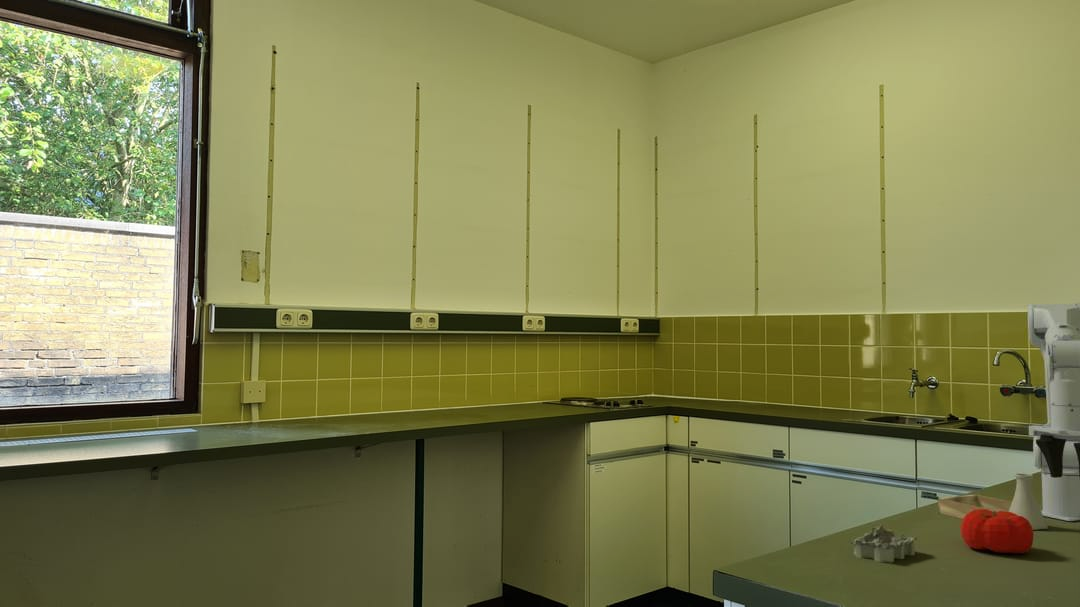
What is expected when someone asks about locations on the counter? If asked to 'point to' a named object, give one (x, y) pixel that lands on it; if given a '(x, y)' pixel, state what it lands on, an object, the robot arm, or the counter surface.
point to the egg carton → (883, 545)
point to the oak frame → (970, 505)
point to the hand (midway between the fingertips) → (1071, 479)
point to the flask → (1027, 502)
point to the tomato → (997, 531)
